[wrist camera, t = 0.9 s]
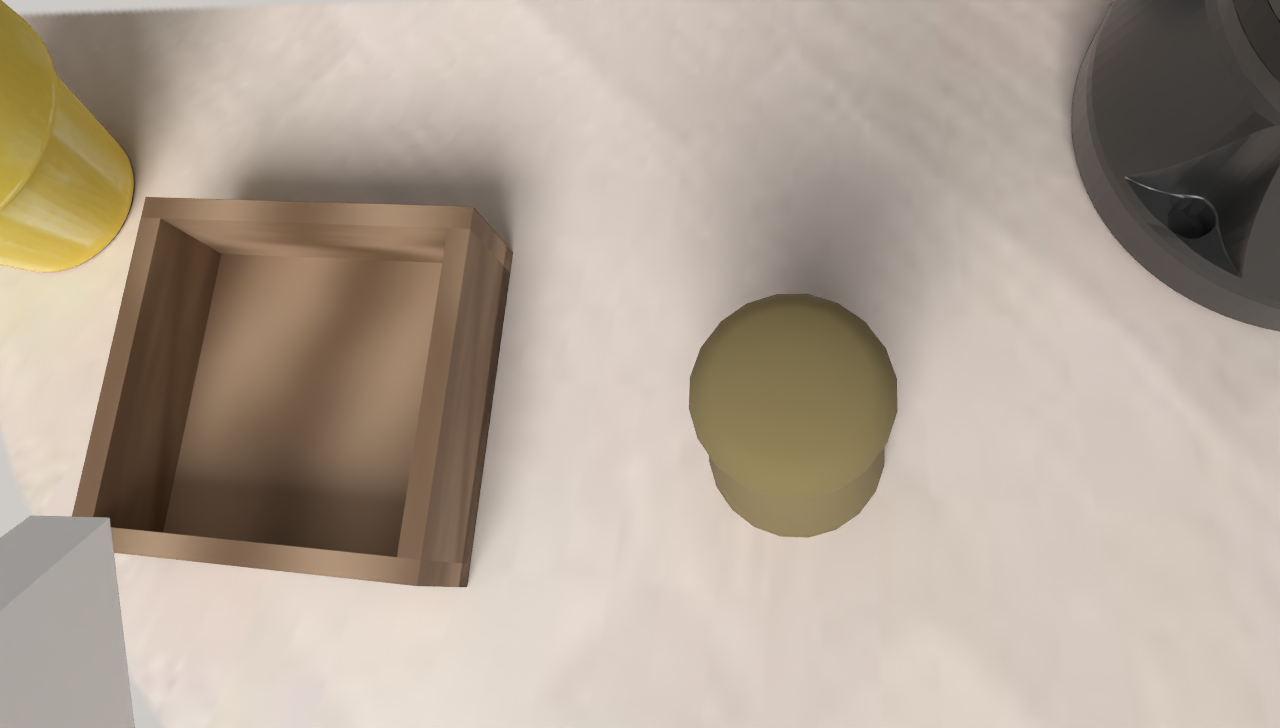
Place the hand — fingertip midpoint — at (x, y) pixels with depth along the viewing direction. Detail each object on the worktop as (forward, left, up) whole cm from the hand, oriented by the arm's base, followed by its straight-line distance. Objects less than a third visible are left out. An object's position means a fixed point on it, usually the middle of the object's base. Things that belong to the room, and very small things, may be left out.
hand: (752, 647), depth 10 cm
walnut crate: (+18, -6, -23) cm, 29 cm away
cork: (0, -5, -23) cm, 23 cm away
